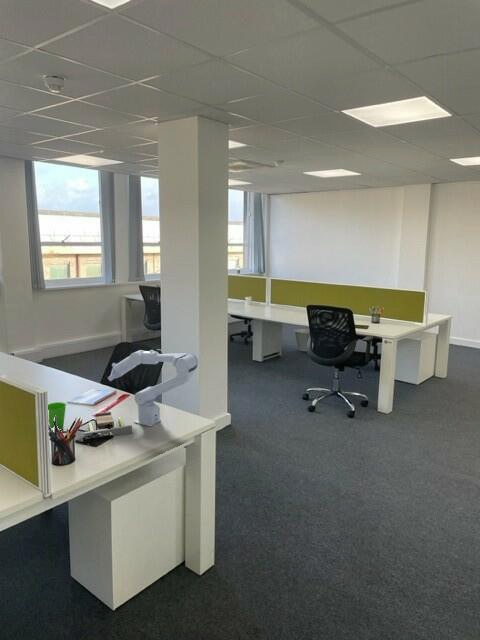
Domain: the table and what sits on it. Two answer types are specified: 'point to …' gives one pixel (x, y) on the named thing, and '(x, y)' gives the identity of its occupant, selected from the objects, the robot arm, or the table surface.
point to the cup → (57, 413)
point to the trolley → (104, 419)
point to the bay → (115, 431)
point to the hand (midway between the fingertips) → (106, 378)
